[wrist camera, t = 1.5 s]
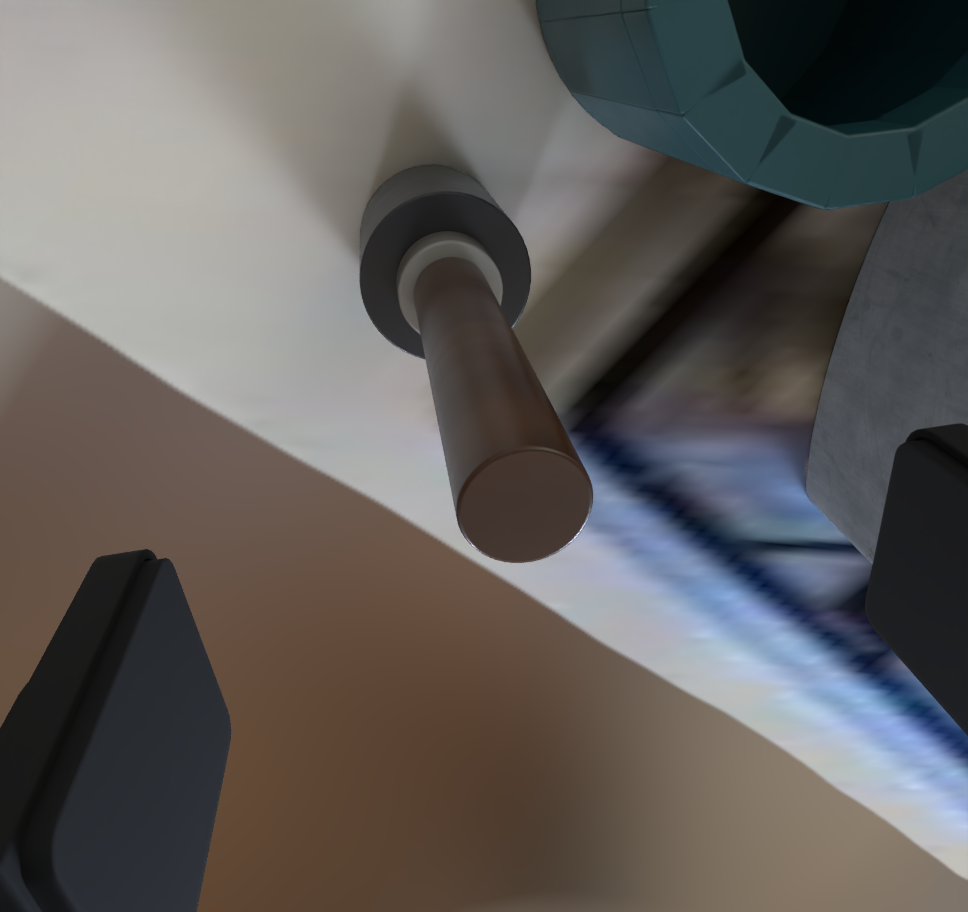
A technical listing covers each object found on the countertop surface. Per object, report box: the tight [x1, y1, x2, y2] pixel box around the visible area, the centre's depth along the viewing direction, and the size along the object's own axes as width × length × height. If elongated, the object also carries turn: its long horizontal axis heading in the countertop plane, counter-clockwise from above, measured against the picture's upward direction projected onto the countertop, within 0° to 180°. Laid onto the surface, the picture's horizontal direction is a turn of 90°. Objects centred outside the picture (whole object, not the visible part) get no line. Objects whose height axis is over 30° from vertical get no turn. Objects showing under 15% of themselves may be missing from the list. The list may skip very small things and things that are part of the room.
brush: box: [360, 165, 593, 563], centre depth 18 cm, size 5×5×17 cm
